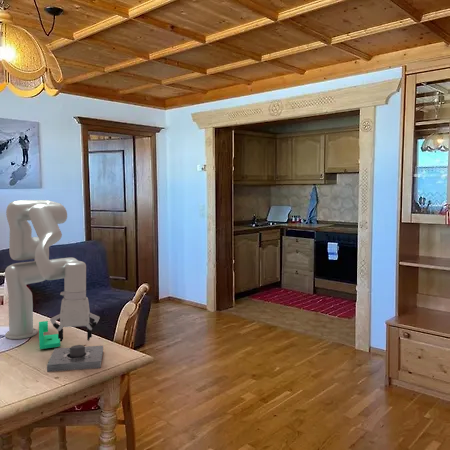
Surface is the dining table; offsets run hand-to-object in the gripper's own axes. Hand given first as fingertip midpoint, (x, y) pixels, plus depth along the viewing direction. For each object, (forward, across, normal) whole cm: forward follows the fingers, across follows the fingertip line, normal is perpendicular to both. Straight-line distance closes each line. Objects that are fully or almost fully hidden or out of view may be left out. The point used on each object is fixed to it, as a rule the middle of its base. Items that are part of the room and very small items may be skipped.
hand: (75, 339), depth 164 cm
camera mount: (+9, -12, +19) cm, 24 cm away
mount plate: (+8, +1, -1) cm, 8 cm away
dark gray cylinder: (+8, +1, 0) cm, 8 cm away
